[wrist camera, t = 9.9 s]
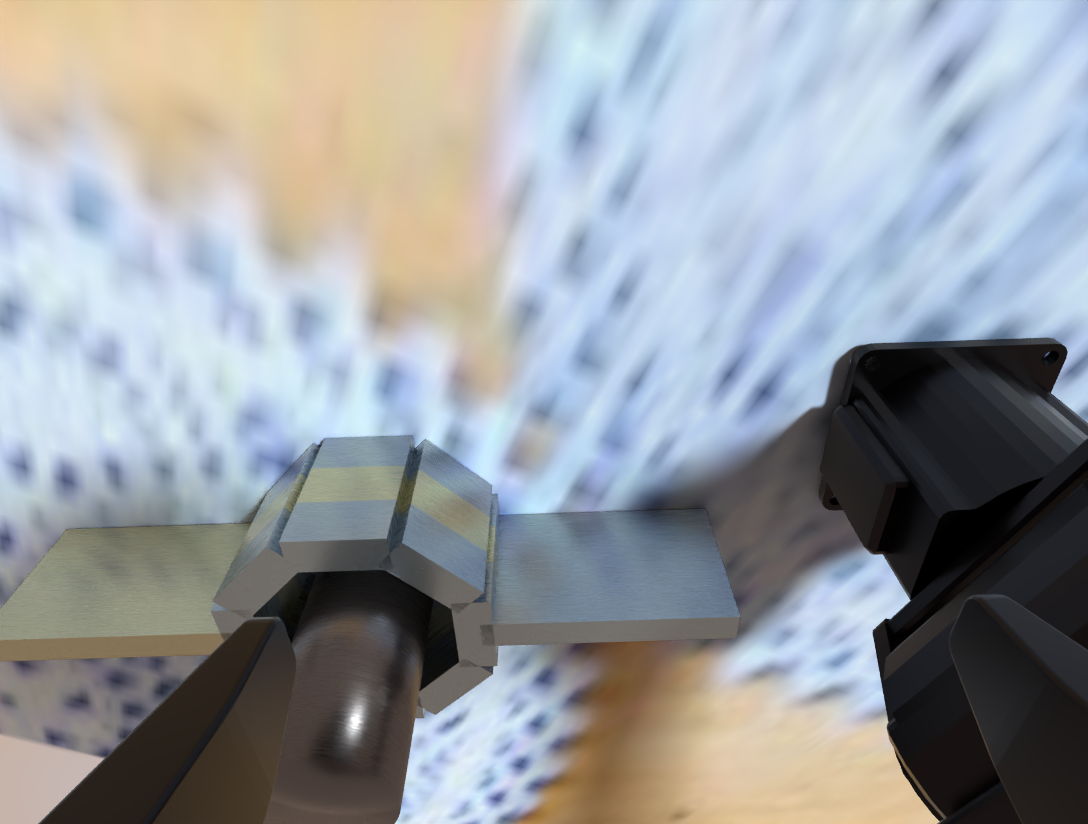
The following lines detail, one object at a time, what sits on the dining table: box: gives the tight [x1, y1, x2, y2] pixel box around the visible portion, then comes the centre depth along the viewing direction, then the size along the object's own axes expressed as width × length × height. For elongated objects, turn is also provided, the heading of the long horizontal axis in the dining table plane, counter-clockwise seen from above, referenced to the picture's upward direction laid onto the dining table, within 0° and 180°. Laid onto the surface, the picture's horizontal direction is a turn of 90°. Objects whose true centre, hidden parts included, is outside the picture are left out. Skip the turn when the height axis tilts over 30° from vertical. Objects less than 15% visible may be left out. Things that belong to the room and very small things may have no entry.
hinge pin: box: [264, 570, 434, 824], centre depth 21 cm, size 4×4×10 cm
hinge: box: [0, 435, 740, 718], centre depth 23 cm, size 24×8×5 cm, turn 92°
